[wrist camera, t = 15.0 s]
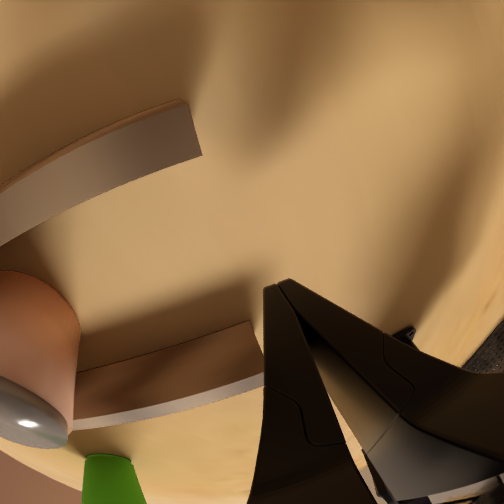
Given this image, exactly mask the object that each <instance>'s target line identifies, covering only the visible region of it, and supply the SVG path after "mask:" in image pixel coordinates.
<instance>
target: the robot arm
mask: <svg viewBox="0 0 504 504" xmlns="http://www.w3.org/2000/svg"><path fill="white" fill-rule="evenodd" d="M415 332H416V329H415V328H414V327H413V326H411V327H409V328H407V329H406V330H404V331H402V332H400V333H399V334H397V335H395V336H394V337H392V336H390V335H388V334H387V333H383V331H381V330H379V329H378V328H376V327H374V326H372V325H371V324H369V323H367V322H365V321H364V320H362V319H360V318H359V317H357V316H355V315H353V314H352V313H350V312H348V311H346V310H345V309H343V308H341V307H339V306H338V305H336V304H334V303H332V302H331V301H329V300H327V299H325V298H324V297H322V296H320V295H318V294H317V293H315V292H313V291H312V290H310V289H308V288H306V287H305V286H303V285H301V284H299V283H298V282H296V281H294V280H292V279H290V278H288V279H286V280H283V281H280V282H278V283H277V284H272V285H270V286H267V287H264V289H263V340H264V388H263V395H264V400H263V420H262V428H261V436H260V443H259V449H258V454H257V460H256V466H255V471H254V477H253V482H252V486H251V491H250V494H249V498H248V501H247V504H377V502H376V500H375V499H374V497H373V495H372V494H371V492H370V490H369V489H368V486H367V485H366V483H365V481H364V479H363V478H362V476H361V474H360V472H359V471H358V469H357V467H356V465H355V463H354V461H353V459H352V456H351V454H350V452H349V449H348V447H347V444H345V443H346V441H345V438H344V436H343V433H342V430H341V428H340V425H339V422H338V420H337V417H336V415H335V412H334V409H333V407H332V404H331V401H330V399H329V396H330V397H331V399H332V400H333V402H334V404H335V405H336V407H337V408H338V410H339V412H340V413H341V415H342V416H343V418H344V420H345V421H346V423H347V424H348V426H349V427H350V429H351V431H352V432H353V434H354V435H355V437H356V439H357V440H358V442H359V443H360V445H361V446H362V448H363V449H362V452H363V454H364V457H365V460H366V462H367V465H368V467H369V470H370V472H371V475H372V478H373V482H374V486H375V490H376V494H377V496H378V497H381V498H383V499H384V500H385V501H386V502H387V503H388V504H504V372H497V373H477V372H472V371H468V370H465V369H462V368H459V367H457V366H455V365H452V364H450V363H447V362H445V361H442V360H440V359H438V358H435V357H433V356H430V355H428V354H426V353H424V352H421V351H420V350H419V349H418V348H417V347H416V345H415V344H414V343H413V342H412V340H413V337H414V335H415ZM327 392H328V394H329V396H328V394H327Z"/></svg>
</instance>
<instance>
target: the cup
mask: <svg viewBox="0 0 504 504" xmlns="http://www.w3.org/2000/svg"><path fill="white" fill-rule="evenodd" d="M82 504H147V503H146V501H145V498H144V495H143V493H142V490H141V487H140V484H139V482H138V479H137V476H136V473H135V470H134V466H133V465H132V464H131V461H130V460H128V459H126V458H124V457H120V456H115V455H108V454H92V455H89V456H87V459H86V460H85V466H84V477H83V489H82Z"/></svg>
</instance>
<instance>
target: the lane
mask: <svg viewBox="0 0 504 504" xmlns="http://www.w3.org/2000/svg"><path fill="white" fill-rule="evenodd" d="M199 156H202V152H201V149H200V145H199V142H198V138H197V135H196V131H195V128H194V124H193V121H192V117H191V114H190V110H189V106H188V104H187V103H185V102H184V101H183V100H181V99H178V100H175V101H171V102H168V103H165V104H162V105H160V106H157V107H154V108H151V109H148V110H146V111H143V112H140V113H138V114H135V115H133V116H130V117H128V118H125V119H123V120H120V121H118V122H115V123H113V124H111V125H108V126H106V127H104V128H102V129H100V130H97V131H95V132H93V133H91V134H89V135H87V136H85V137H83V138H81V139H79V140H77V141H75V142H73V143H71V144H69V145H67V146H65V147H63V148H61V149H59V150H58V151H56V152H54V153H52V154H50V155H49V156H47V157H45V158H43V159H42V160H40V161H38V162H37V163H35V164H33V165H32V166H30V167H28V168H27V169H25V170H24V171H22V172H21V173H19V174H17V175H16V176H14V177H13V178H11V179H10V180H8V181H7V182H6V183H4V184H3V185H1V186H0V246H2V245H3V244H5V243H7V242H8V241H10V240H12V239H13V238H15V237H17V236H19V235H20V234H22V233H24V232H26V231H27V230H29V229H31V228H33V227H35V226H37V225H38V224H40V223H42V222H44V221H46V220H48V219H50V218H52V217H54V216H56V215H58V214H60V213H62V212H64V211H66V210H68V209H70V208H72V207H74V206H76V205H78V204H80V203H82V202H84V201H86V200H89V199H91V198H93V197H95V196H97V195H100V194H102V193H104V192H107V191H109V190H111V189H114V188H116V187H118V186H121V185H123V184H125V183H128V182H130V181H133V180H135V179H138V178H140V177H143V176H146V175H148V174H151V173H153V172H156V171H159V170H161V169H164V168H167V167H170V166H173V165H175V164H178V163H181V162H184V161H187V160H190V159H193V158H196V157H199ZM261 386H264V356H263V353H262V351H261V349H260V346H259V344H258V341H257V339H256V336H255V334H254V331H253V329H252V326H251V324H250V322H249V321H247V322H244V323H241V324H238V325H236V326H233V327H230V328H227V329H224V330H221V331H218V332H216V333H213V334H210V335H207V336H204V337H201V338H198V339H195V340H192V341H188V342H185V343H182V344H179V345H176V346H173V347H170V348H166V349H163V350H160V351H156V352H153V353H150V354H146V355H143V356H139V357H136V358H133V359H129V360H125V361H122V362H118V363H114V364H111V365H107V366H103V367H99V368H95V369H91V370H87V371H83V372H79V373H76V378H75V389H74V405H73V429H72V431H74V430H84V429H92V428H99V427H106V426H112V425H119V424H124V423H130V422H135V421H140V420H145V419H150V418H155V417H159V416H164V415H168V414H172V413H176V412H180V411H184V410H188V409H192V408H195V407H199V406H202V405H206V404H209V403H213V402H216V401H219V400H223V399H226V398H229V397H232V396H235V395H238V394H241V393H244V392H247V391H250V390H253V389H256V388H259V387H261Z"/></svg>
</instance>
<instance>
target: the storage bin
mask: <svg viewBox="0 0 504 504" xmlns="http://www.w3.org/2000/svg"><path fill="white" fill-rule="evenodd" d="M492 351H493V352H492ZM485 359H486V360H485ZM497 365H498V366H497ZM462 369H465V370H468V371H472V372H477V373H497V372H504V321H503V322H501V323H500V325H499V326H498V327H497V328H496V329H495V330H494V332H493V333H492V334H491V335H490V336H489V337H488V338H487V340H486V341H485V342H484V343H483V344H482V346H481V347H480V348H479V349H478V350H477V351H476V353H475V354H474V355H473V356H472V357H471V358H470V359H469V360H468V361H467V362H466V364H465V365H464V366H463V367H462ZM493 369H494V370H493ZM475 370H476V371H475Z"/></svg>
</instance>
